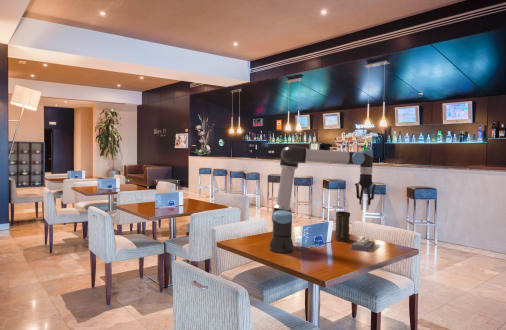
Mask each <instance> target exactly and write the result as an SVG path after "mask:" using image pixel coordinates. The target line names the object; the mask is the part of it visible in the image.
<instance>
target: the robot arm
mask: <svg viewBox="0 0 506 330" xmlns="http://www.w3.org/2000/svg"><path fill="white" fill-rule="evenodd" d="M280 152H281V153H280V162H279V166H280V167H281V171H280V176H279V177H280V179H279V183H278V185H279V186H278V191H277V198H276V204H275V205H274V206H273V209H272V215H271V223H272V237H271V239H270V242H269V247H268V249H269V251H271V252H274V253H278V254H279V253H280V254H287V253H288V254H289V253H294V251H295V246H294V242H293V239H292V238H293V237H292V235H293V233H292V232H293V230H292V227H293V213H292V208H291V201H292V200H291V199H292V193H293V186H294V181H295V180H294V178H295V172H296V170H297V169H298V167H299V164H306V163H307V162H308V163H323V164H324V163H328V164H342V165H343V164H344V165H357V166H358V165H360V166H359V168H360V169H359V173H360V174H359V181H358V182H357V183H355V184H354V185H355V190H356V191H355V192H356V193H355V194H356V198H357V200H359V205H360V211H363V209H364V199H363V197H364V190H365V189H366V192H367V193H366V194H367V200H366V211H369V210H370V206H371V204H372V203H371V202H372V201H373V200H374V199H375V194H376V193H375V191H376V187H377V183H375V184H374V183H373V163H374V162H373V161H374V160H373V159H374V153H373V152H374V151H373V150H371V149H361V150H360V151H344V150H342V151H341V150H330V149H329V150H327V149H311V148H310V149H309V148H307V147H303V146H297V145H292V144H291V145H290V144H289V145H287V146H285V147H284V148H282V150H281V151H280ZM371 188H372V189H371Z"/></svg>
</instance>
